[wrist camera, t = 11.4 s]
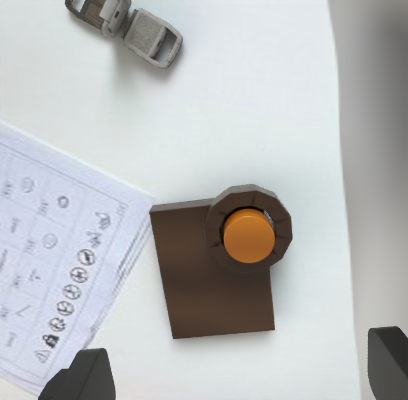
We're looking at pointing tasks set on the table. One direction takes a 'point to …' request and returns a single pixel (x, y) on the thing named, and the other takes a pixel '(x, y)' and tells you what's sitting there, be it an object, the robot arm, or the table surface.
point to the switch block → (216, 264)
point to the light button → (248, 236)
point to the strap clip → (129, 27)
